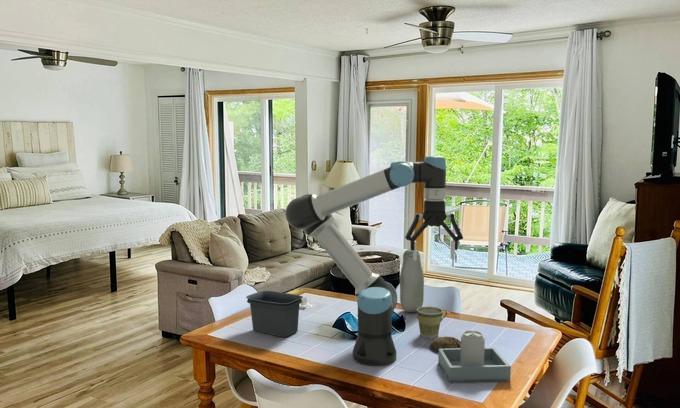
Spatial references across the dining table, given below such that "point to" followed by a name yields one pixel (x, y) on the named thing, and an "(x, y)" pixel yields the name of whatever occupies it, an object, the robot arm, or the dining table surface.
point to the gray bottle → (411, 282)
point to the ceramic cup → (429, 321)
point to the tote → (474, 367)
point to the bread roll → (444, 343)
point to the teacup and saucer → (304, 303)
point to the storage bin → (274, 312)
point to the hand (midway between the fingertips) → (433, 259)
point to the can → (472, 349)
